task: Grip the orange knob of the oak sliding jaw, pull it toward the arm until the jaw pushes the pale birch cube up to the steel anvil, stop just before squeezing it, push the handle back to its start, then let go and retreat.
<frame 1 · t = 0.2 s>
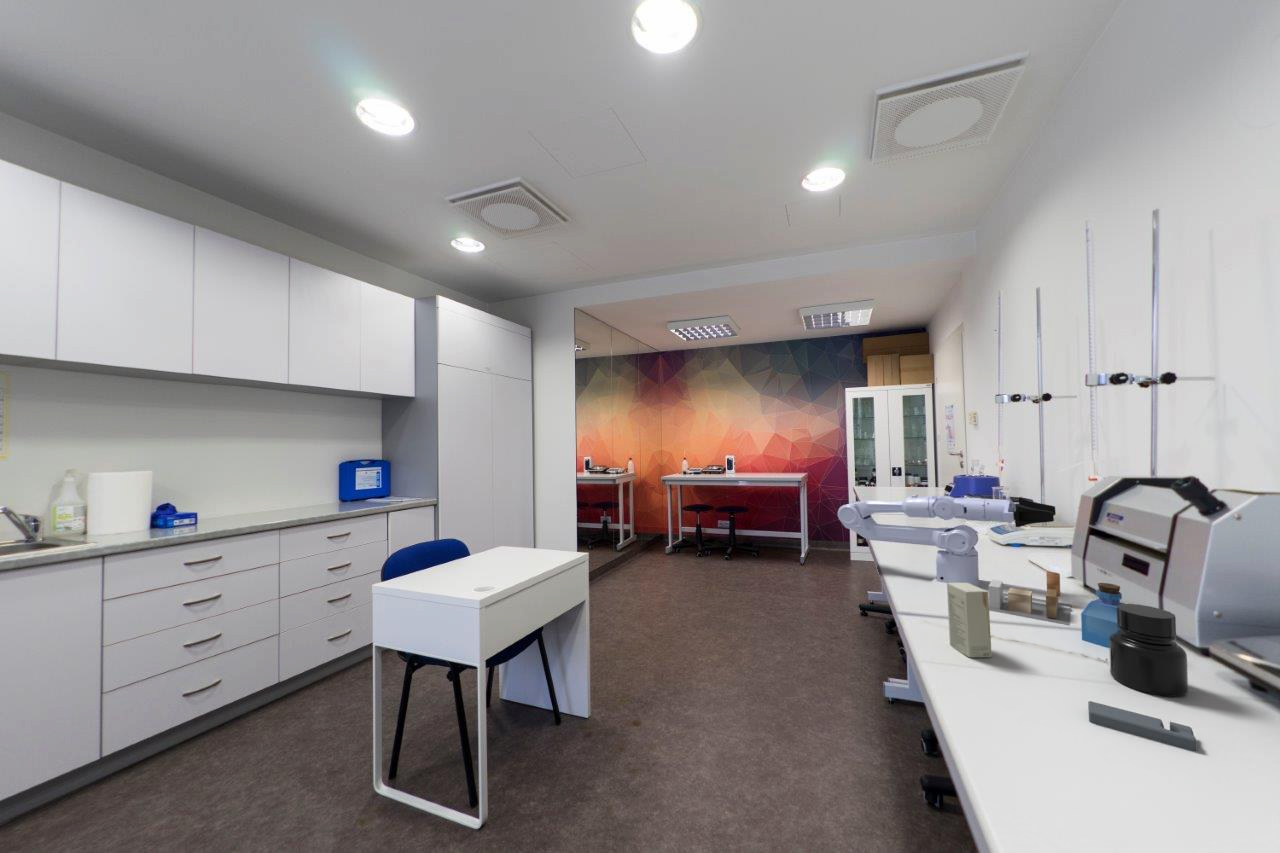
hand: (1054, 513, 119), 21 cm above the worktop, tool horizontal, fingers open, 7 cm apart
ink bottle: (1147, 685, 81), on the worktop
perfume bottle: (1110, 649, 94), on the worktop
press jaw: (1052, 593, 111), point 5 cm above the worktop, slide at 0.0 cm
skincare box: (969, 651, 94), on the worktop
birch cube: (1020, 609, 112), point 1 cm above the worktop, touching press base
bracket: (1139, 734, 69), on the worktop
press base: (1030, 611, 113), on the worktop
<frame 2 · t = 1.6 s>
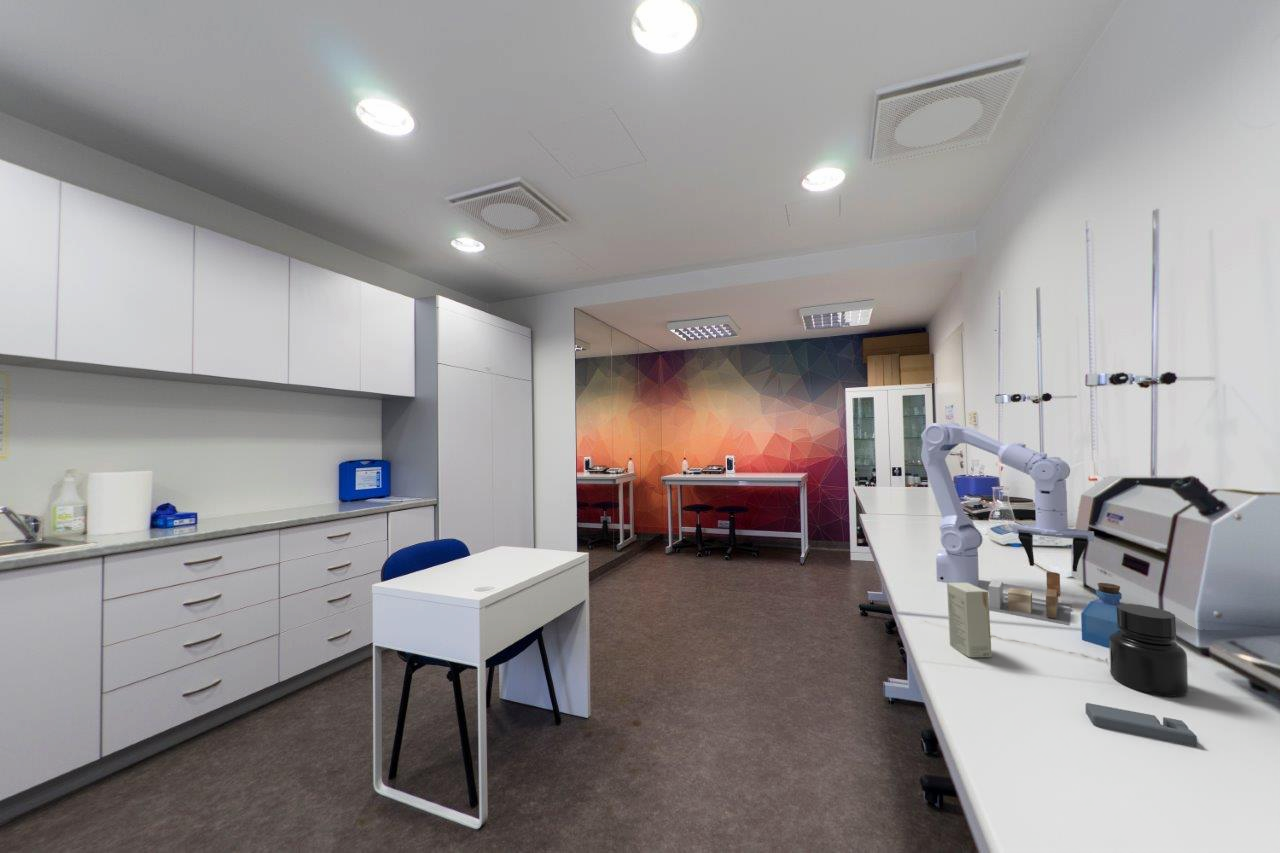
hand: (1052, 567, 115), 9 cm above the worktop, tool pointing down, fingers open, 7 cm apart
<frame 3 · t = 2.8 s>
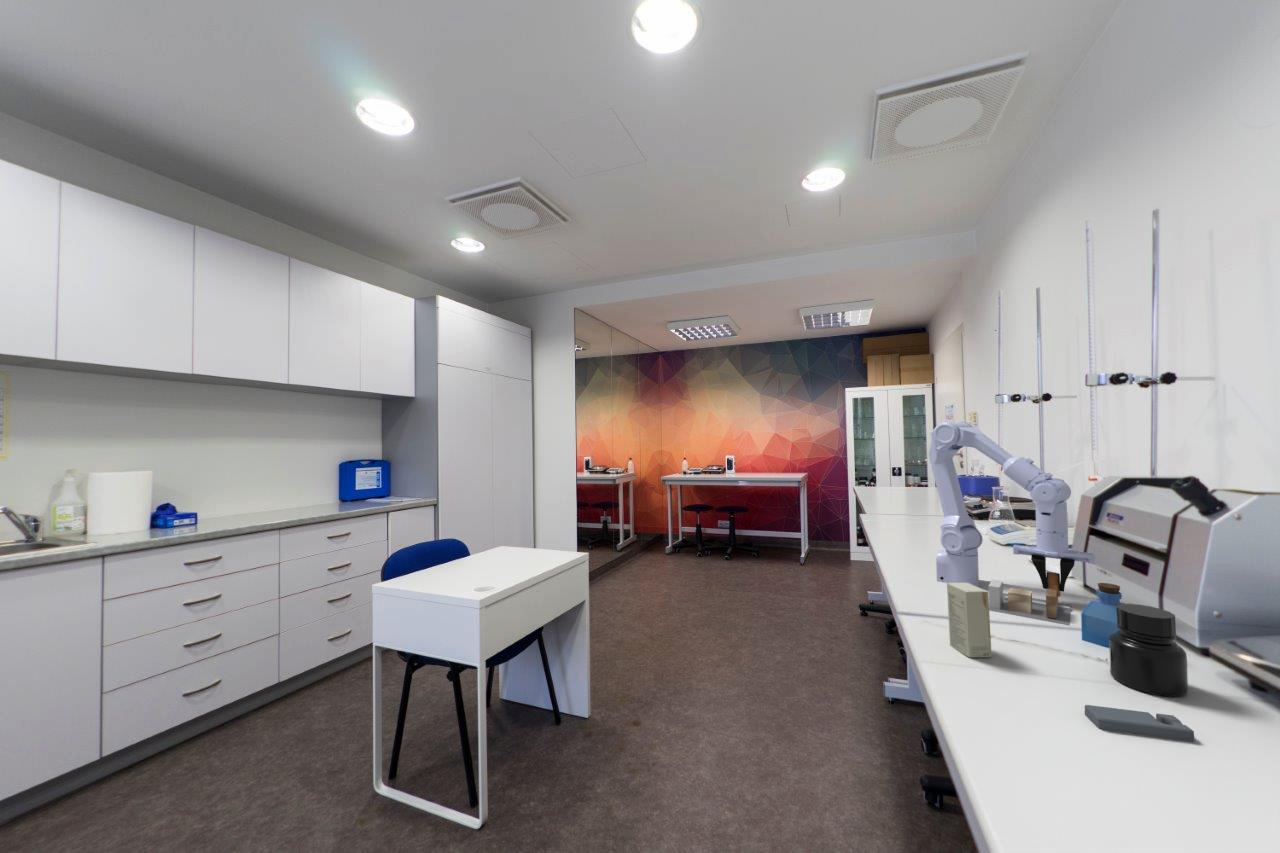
hand: (1053, 589, 115), 4 cm above the worktop, tool pointing down, fingers closed on press jaw, 2 cm apart
press jaw: (1052, 593, 111), point 5 cm above the worktop, slide at 0.0 cm, touching gripper
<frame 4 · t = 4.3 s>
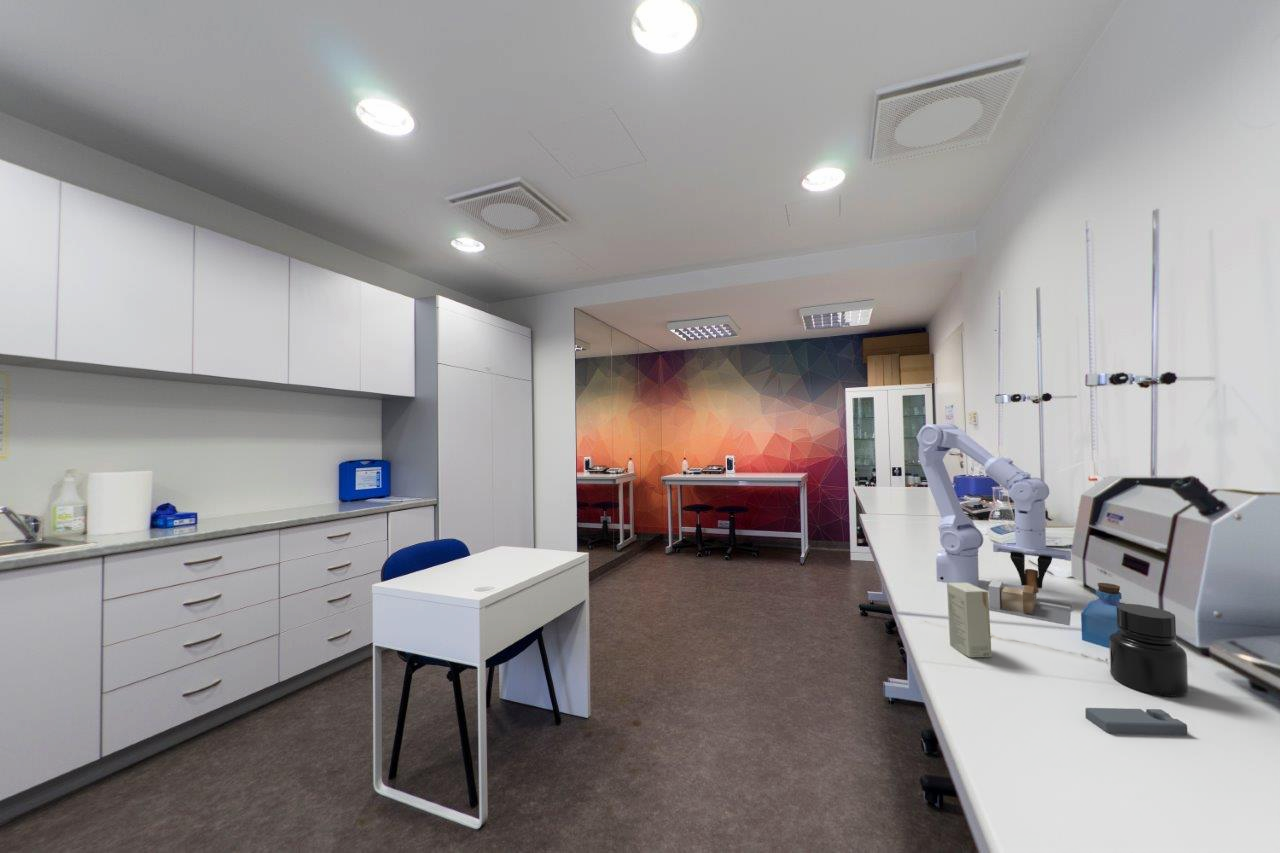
hand: (1031, 585, 117), 4 cm above the worktop, tool pointing down, fingers closed on press jaw, 2 cm apart
press jaw: (1029, 590, 113), point 5 cm above the worktop, slide at 4.0 cm, touching birch cube, gripper
birch cube: (1013, 608, 113), point 1 cm above the worktop, touching press base, press jaw
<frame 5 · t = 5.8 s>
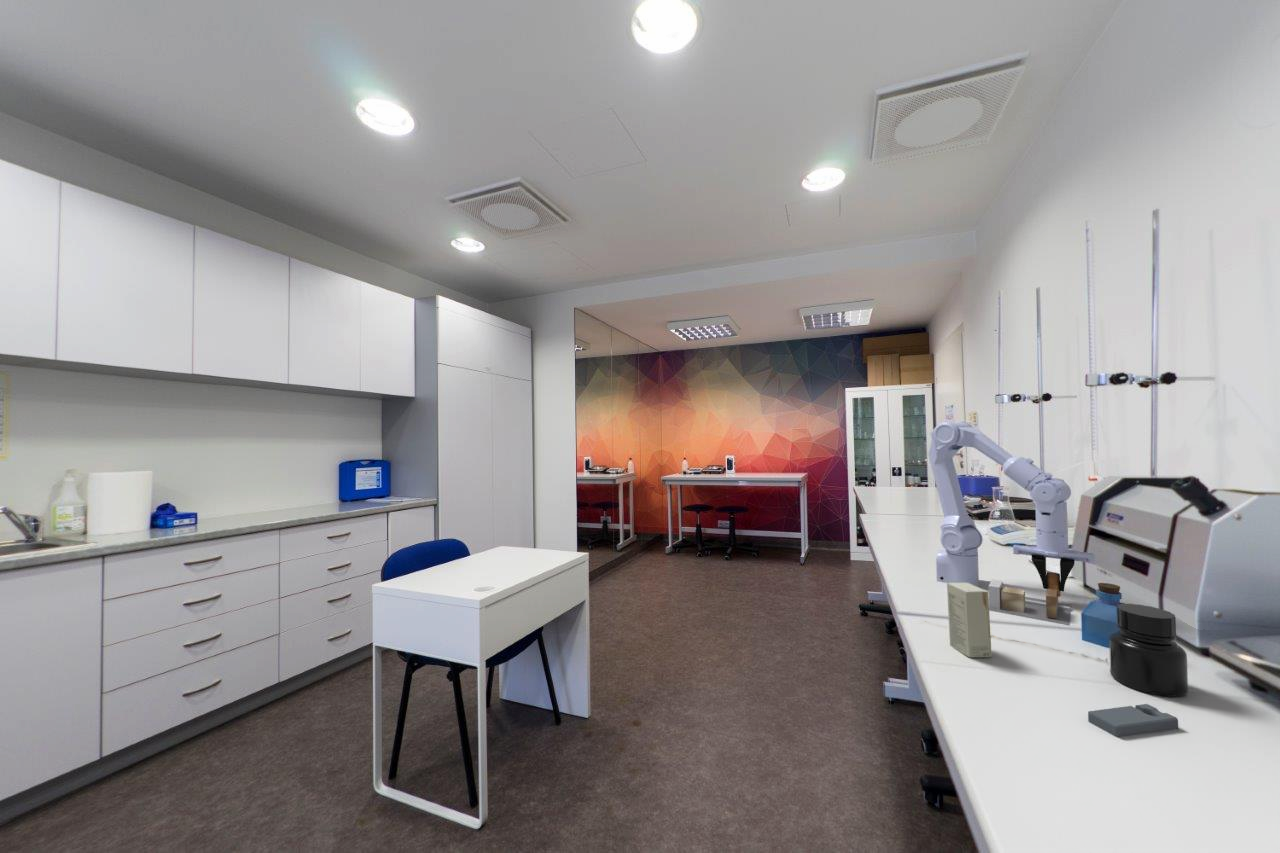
hand: (1053, 589, 115), 4 cm above the worktop, tool pointing down, fingers closed on press jaw, 2 cm apart
press jaw: (1052, 593, 111), point 5 cm above the worktop, slide at 0.0 cm, touching gripper
birch cube: (1013, 608, 113), point 1 cm above the worktop, touching press base
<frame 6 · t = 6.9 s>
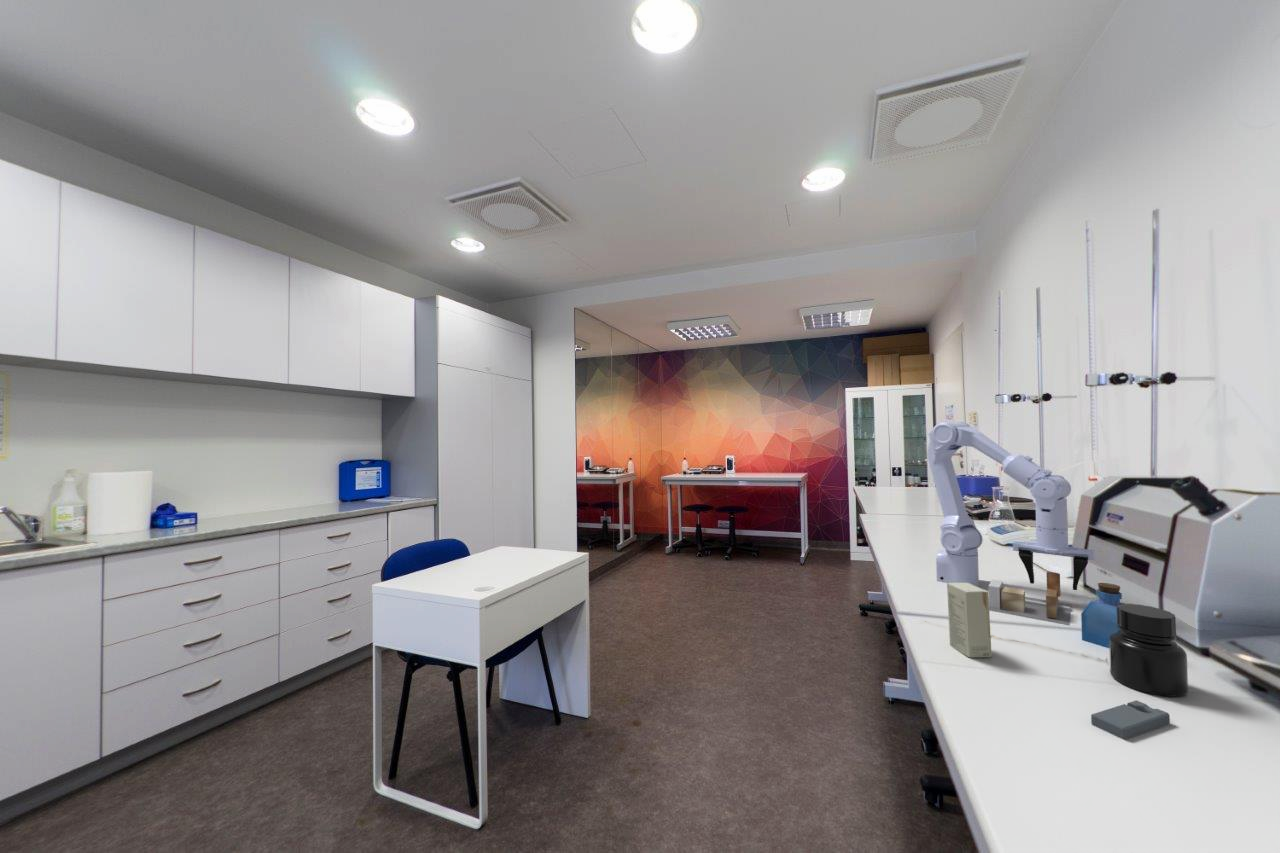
hand: (1053, 585, 115), 5 cm above the worktop, tool pointing down, fingers open, 7 cm apart
press jaw: (1052, 593, 111), point 5 cm above the worktop, slide at 0.0 cm
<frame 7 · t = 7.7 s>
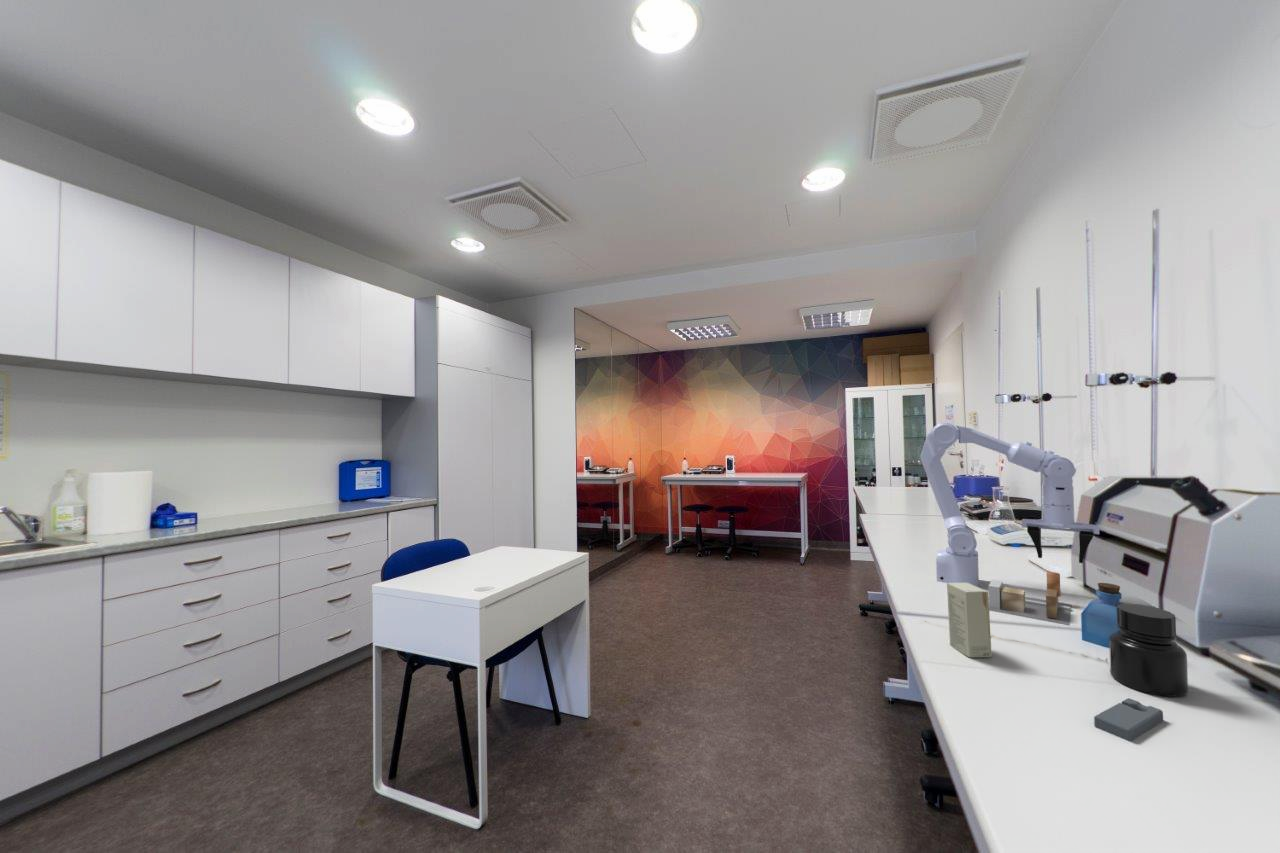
hand: (1060, 559, 121), 9 cm above the worktop, tool pointing down, fingers open, 7 cm apart
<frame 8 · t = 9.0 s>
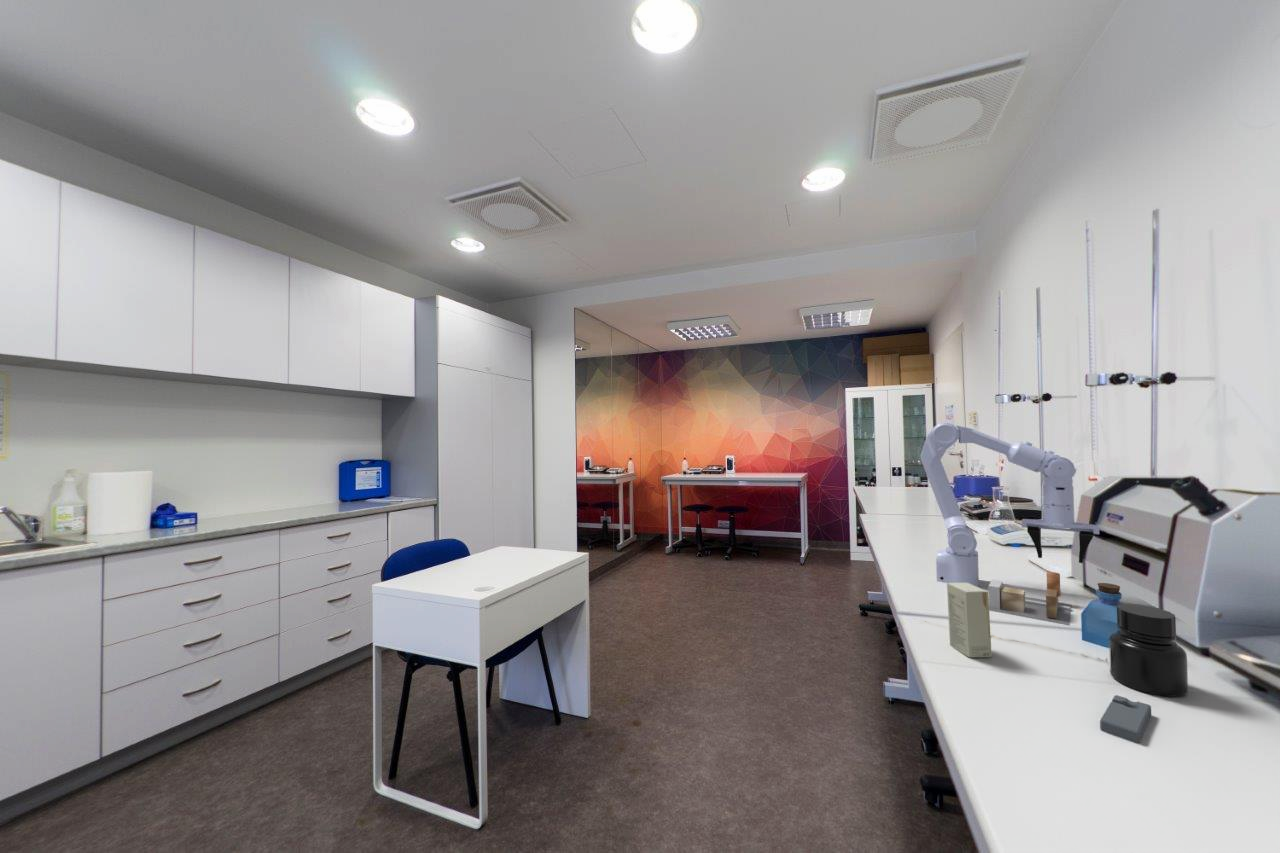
hand: (1060, 559, 122), 9 cm above the worktop, tool pointing down, fingers open, 7 cm apart
at the end: birch cube 0.0 cm from the target spot on the press base, point 1.0 cm above the press base's base; press jaw slide at 0.0 cm; birch cube tilted 0° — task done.
